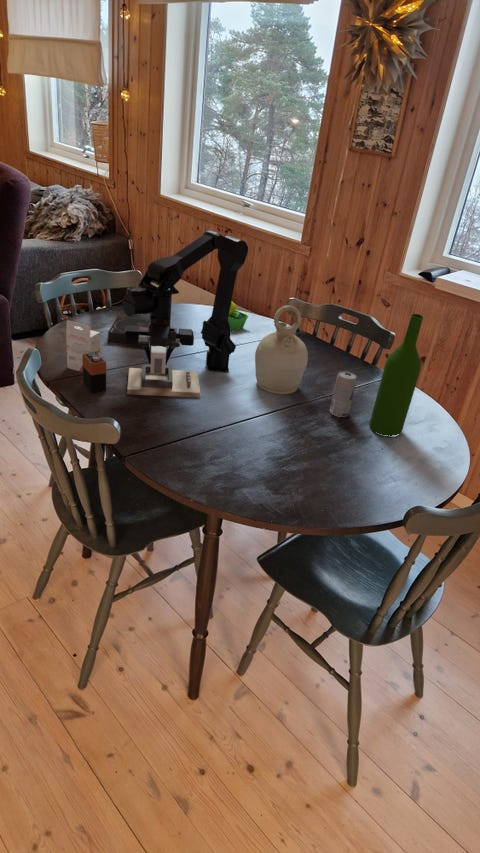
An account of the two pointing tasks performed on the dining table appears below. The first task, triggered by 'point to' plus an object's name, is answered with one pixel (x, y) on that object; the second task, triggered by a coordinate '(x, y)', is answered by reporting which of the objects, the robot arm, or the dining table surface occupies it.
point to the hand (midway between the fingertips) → (157, 363)
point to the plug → (158, 359)
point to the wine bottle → (398, 383)
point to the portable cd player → (119, 327)
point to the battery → (94, 372)
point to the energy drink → (343, 394)
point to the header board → (163, 382)
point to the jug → (281, 357)
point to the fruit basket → (236, 318)
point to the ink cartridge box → (80, 343)
